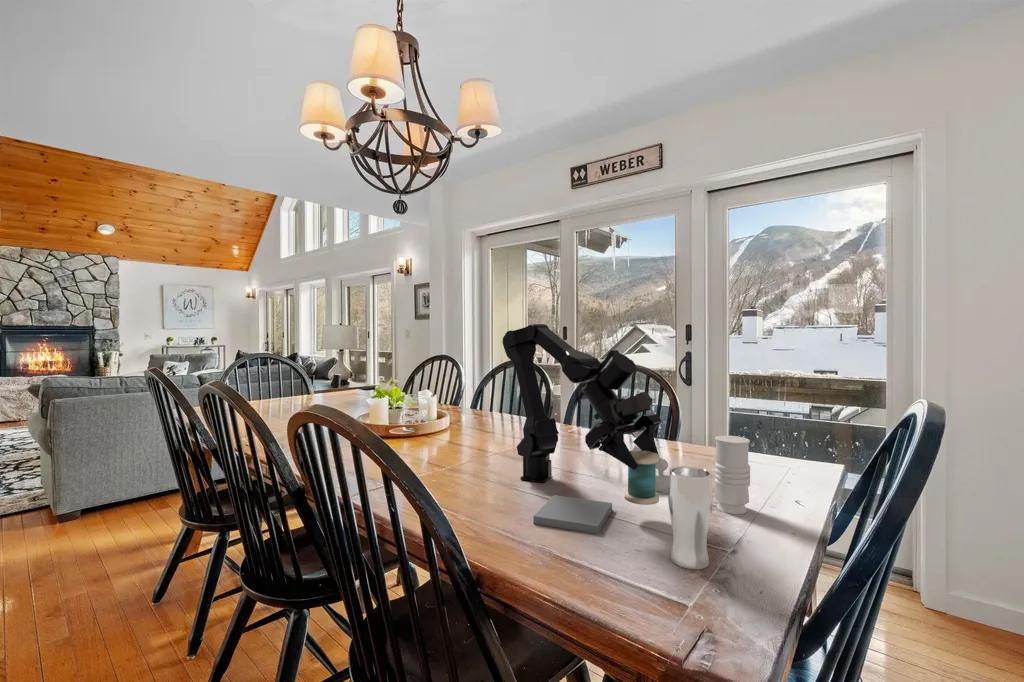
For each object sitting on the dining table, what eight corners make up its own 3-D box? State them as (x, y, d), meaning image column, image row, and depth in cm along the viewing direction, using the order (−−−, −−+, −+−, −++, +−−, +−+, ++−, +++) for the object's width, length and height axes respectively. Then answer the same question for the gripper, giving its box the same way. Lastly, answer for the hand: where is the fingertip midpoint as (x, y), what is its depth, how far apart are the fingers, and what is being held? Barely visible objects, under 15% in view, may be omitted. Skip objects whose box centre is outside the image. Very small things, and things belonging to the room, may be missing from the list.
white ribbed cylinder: (754, 515, 101) (754, 443, 100) (718, 513, 102) (718, 442, 101) (744, 503, 107) (745, 436, 107) (711, 501, 109) (711, 434, 108)
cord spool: (621, 501, 97) (621, 457, 97) (627, 491, 104) (627, 449, 103) (656, 506, 95) (657, 460, 94) (660, 495, 101) (661, 452, 101)
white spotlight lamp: (629, 441, 126) (670, 443, 124) (629, 478, 126) (670, 480, 124) (631, 449, 117) (674, 451, 115) (630, 489, 118) (674, 491, 116)
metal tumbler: (661, 552, 85) (661, 466, 84) (699, 550, 85) (700, 465, 85) (678, 572, 78) (678, 478, 77) (720, 570, 78) (721, 477, 78)
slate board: (533, 523, 97) (533, 515, 97) (553, 501, 109) (553, 495, 109) (598, 534, 92) (598, 526, 92) (612, 510, 104) (612, 503, 104)
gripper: (595, 383, 96) (641, 450, 87) (654, 376, 107) (700, 435, 99) (567, 416, 102) (607, 482, 94) (626, 407, 114) (666, 465, 105)
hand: (647, 465), depth 98 cm, fingers closed on cord spool, 7 cm apart
